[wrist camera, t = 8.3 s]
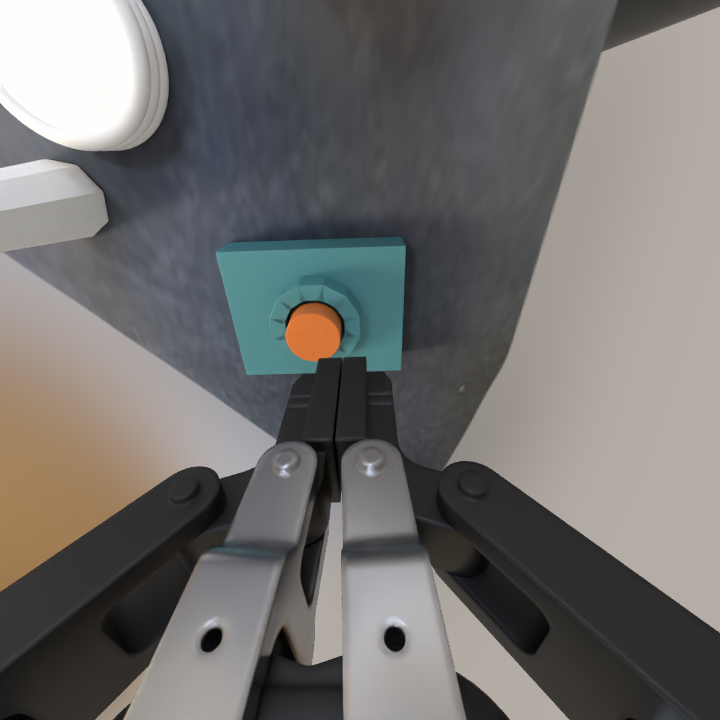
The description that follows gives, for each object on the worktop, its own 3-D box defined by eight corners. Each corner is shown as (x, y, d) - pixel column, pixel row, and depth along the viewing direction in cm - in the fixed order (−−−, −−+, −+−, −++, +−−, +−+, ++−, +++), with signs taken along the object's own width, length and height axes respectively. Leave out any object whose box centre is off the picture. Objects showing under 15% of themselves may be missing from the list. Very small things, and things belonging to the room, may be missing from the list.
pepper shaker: (81, 149, 24) (-94, 151, 15) (125, 228, 27) (1, 272, 17) (14, 167, 24) (-196, 180, 15) (63, 243, 27) (-88, 293, 18)
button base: (401, 236, 27) (409, 252, 23) (397, 353, 33) (403, 383, 29) (228, 242, 27) (204, 259, 23) (254, 357, 33) (240, 388, 29)
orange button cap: (339, 301, 25) (338, 312, 24) (343, 347, 27) (342, 361, 26) (286, 302, 25) (281, 314, 24) (293, 349, 28) (289, 362, 26)
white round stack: (182, 160, 24) (158, 162, 21) (34, 138, 24) (-13, 137, 21) (157, -43, 19) (121, -78, 16) (-35, -81, 18) (-111, -125, 15)
